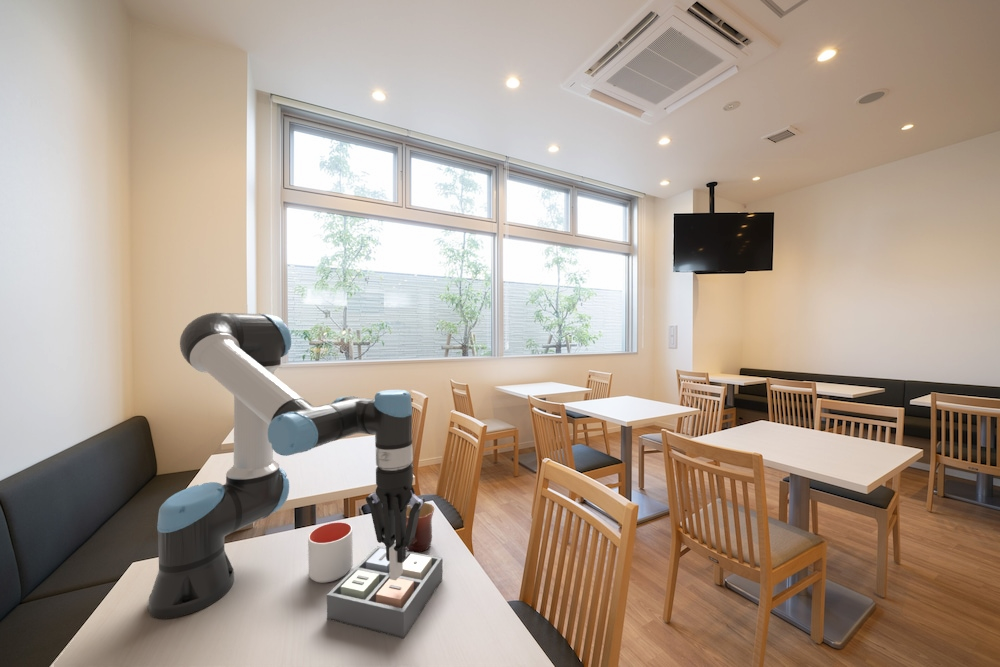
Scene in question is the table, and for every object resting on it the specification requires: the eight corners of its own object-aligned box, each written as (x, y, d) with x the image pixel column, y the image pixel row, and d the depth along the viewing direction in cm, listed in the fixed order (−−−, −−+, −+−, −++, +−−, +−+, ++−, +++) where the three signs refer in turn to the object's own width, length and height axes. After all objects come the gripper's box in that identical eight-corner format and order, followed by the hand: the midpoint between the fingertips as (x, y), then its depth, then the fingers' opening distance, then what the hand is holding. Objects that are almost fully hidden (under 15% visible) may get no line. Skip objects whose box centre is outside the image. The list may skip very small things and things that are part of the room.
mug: (410, 536, 109) (410, 501, 109) (439, 539, 107) (438, 504, 107) (390, 561, 97) (390, 522, 97) (422, 565, 95) (421, 525, 95)
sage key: (340, 602, 79) (340, 585, 79) (357, 584, 85) (357, 569, 84) (363, 607, 78) (363, 590, 78) (379, 589, 83) (379, 573, 83)
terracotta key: (376, 610, 77) (375, 593, 77) (391, 591, 82) (391, 576, 82) (400, 616, 75) (400, 598, 75) (413, 596, 81) (413, 580, 81)
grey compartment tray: (327, 619, 78) (326, 594, 78) (377, 566, 95) (377, 545, 95) (403, 638, 73) (403, 612, 73) (442, 578, 90) (442, 557, 90)
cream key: (398, 582, 85) (398, 567, 85) (410, 567, 90) (410, 553, 90) (420, 587, 84) (420, 571, 83) (431, 571, 89) (431, 557, 89)
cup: (352, 579, 90) (352, 538, 90) (306, 590, 87) (305, 547, 86) (352, 555, 100) (352, 518, 99) (310, 564, 96) (310, 526, 96)
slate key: (365, 576, 87) (365, 561, 87) (379, 561, 93) (379, 547, 93) (386, 580, 86) (386, 565, 86) (399, 565, 91) (399, 551, 91)
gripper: (356, 468, 76) (358, 582, 77) (413, 474, 73) (415, 593, 73) (377, 456, 84) (379, 560, 84) (430, 460, 80) (432, 569, 80)
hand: (396, 575), depth 79 cm, fingers closed
